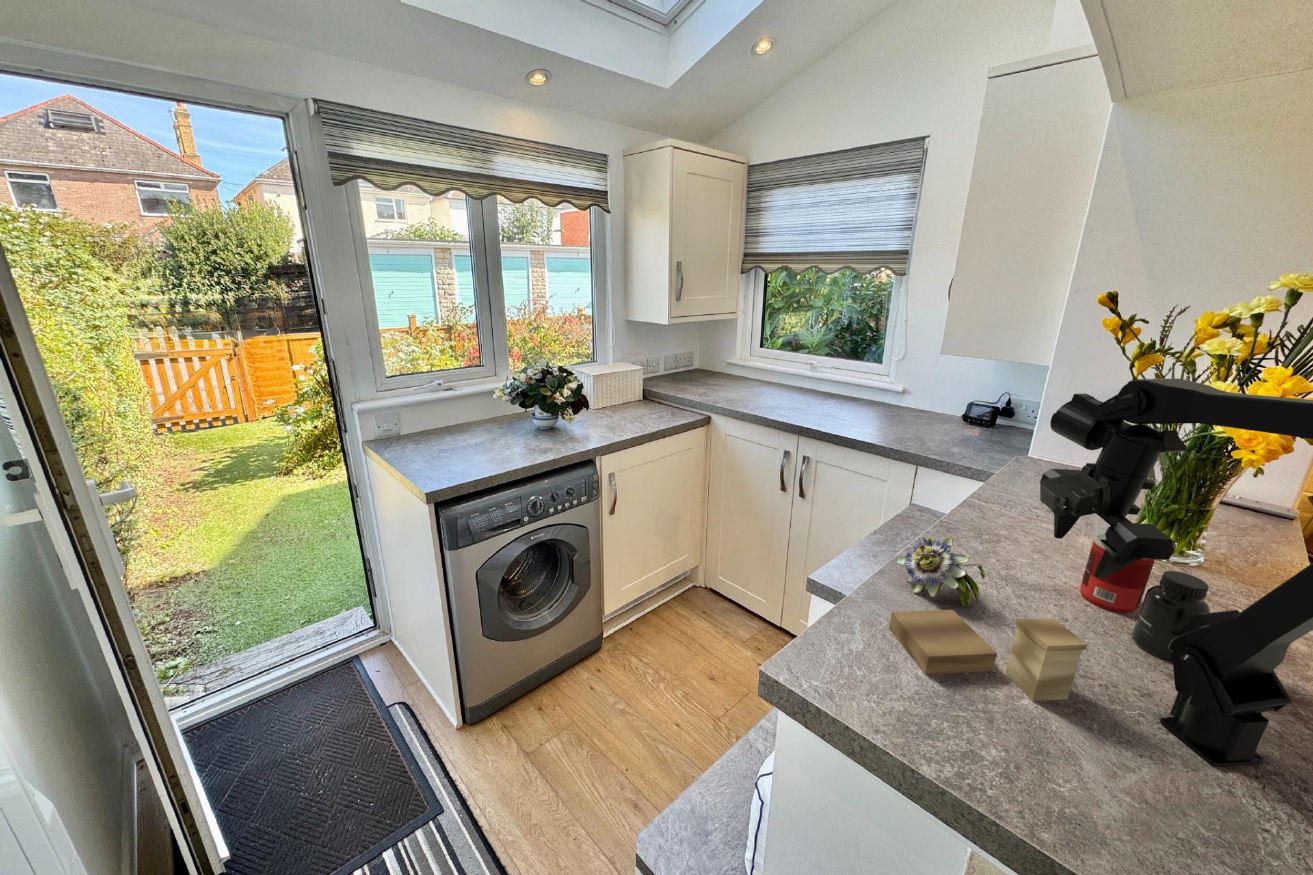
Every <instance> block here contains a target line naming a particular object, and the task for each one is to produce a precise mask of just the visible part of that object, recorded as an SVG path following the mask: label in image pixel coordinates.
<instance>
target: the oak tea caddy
mask: <svg viewBox="0 0 1313 875" xmlns="http://www.w3.org/2000/svg"><path fill="white" fill-rule="evenodd" d="M1014 625H1015V626H1016V629H1015V634H1014V638H1013V642H1012V646H1011V649H1010V654H1009V657H1008V660H1007V661H1008V662H1007V665H1006V670H1005V673H1004V675H1006V676H1007V677H1008V678H1009V679H1010V680H1011V681H1012V682H1013V683H1014V684H1015V686H1017V687H1018V689H1019V690H1021V691H1022V693H1023V694H1025V695H1026V696H1027V698H1028V699H1029V700H1030V701H1031V702H1039V701H1040V702H1041V701H1056V700H1057V701H1058V700H1068V699H1069V696H1070V693H1071V689H1072V685H1073V683H1074V680H1075V676H1076V673H1077V669H1078V666H1079V663H1080V660H1081V656H1082V654H1083V651H1085V650H1087V648H1088V643H1086V641H1084V640H1083V639H1081V638H1080V637H1079V636H1078V635H1076V634H1075V633H1074V632H1072V631H1071V630H1069V629H1068V628H1067V627H1066V626H1065V625H1064V624H1062V623H1061V622H1060V621H1058V619H1056V618H1055V617H1041V618H1019V619H1016V620H1015V624H1014Z"/></svg>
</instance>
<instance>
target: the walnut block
mask: <svg viewBox="0 0 1313 875" xmlns="http://www.w3.org/2000/svg"><path fill="white" fill-rule="evenodd" d="M888 629H889V630H890V631H891V633H892V634H893V635H894V636H896V637H895V638H896V640H897V641H898V642H899V643H900V644H901V646H902V647H903V648H904V650H905V651H906V652H907V653H908V655H909V656H910V657H911V659H912V660H913V662H915V664H917V666H918V667H919V669H920V670H921V671H922V673H923V674H924V675H938V674H939V675H940V674H942V675H945V674H959V673H961V674H962V673H982V672H984V673H985V672H993V671H994V667H995V663H996V659H997V656H998V655H997V654H998V652H996V651H995V650H994V649H993V648H992V647H991V646H990V645H989V644H988V643H987V642H986V641H985V640H984V639H983V638H982V637H981V636H980V635H979V634H978V633H977V632H976V631H975V630H974V629H973V628H972V627H971V626H970V625H969V624H968V623H967V622H966V621H965V620H964V619H963V618H962V617H961V616H960V615H959V614H958V613H957V612H956V611H955V610H953V609H944V610H943V609H940V610H939V609H937V610H935V609H934V610H918V611H917V610H916V611H915V610H914V611H910V610H909V611H891V616H890V623H889V627H888Z"/></svg>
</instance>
